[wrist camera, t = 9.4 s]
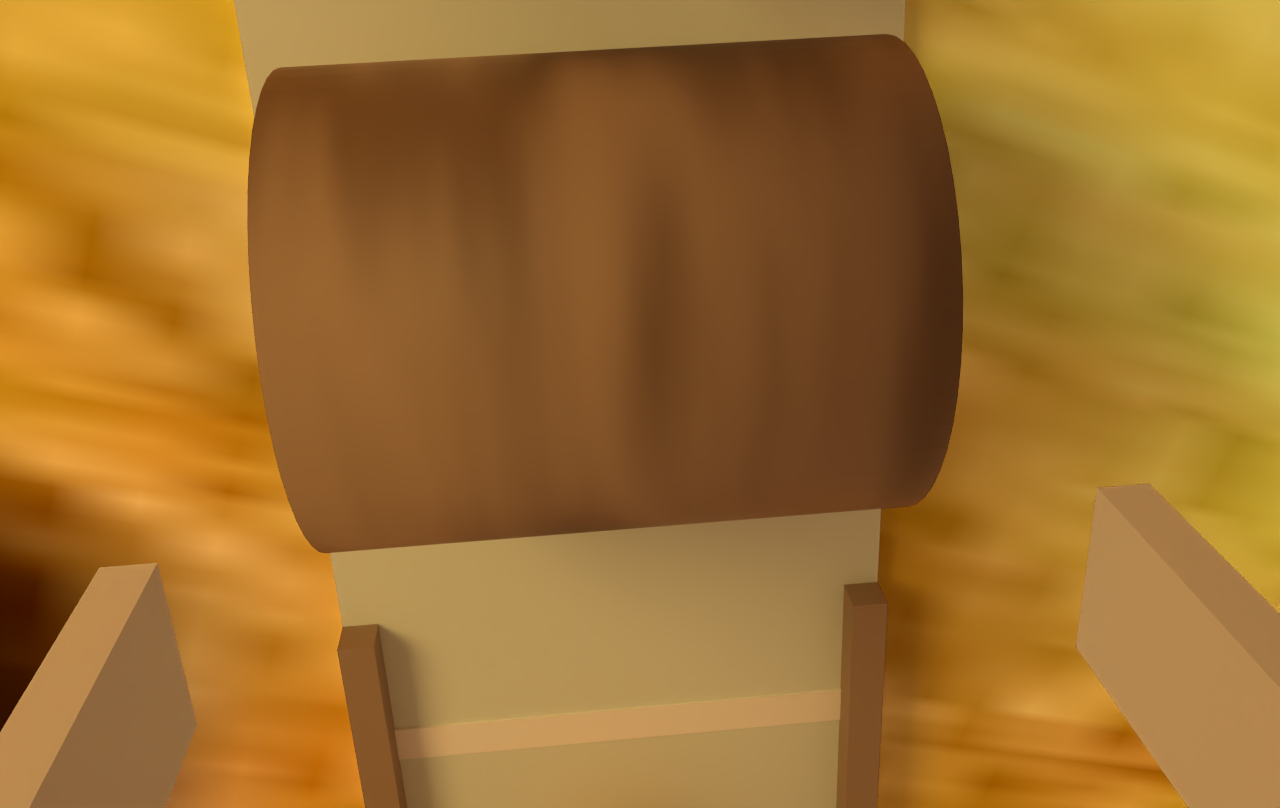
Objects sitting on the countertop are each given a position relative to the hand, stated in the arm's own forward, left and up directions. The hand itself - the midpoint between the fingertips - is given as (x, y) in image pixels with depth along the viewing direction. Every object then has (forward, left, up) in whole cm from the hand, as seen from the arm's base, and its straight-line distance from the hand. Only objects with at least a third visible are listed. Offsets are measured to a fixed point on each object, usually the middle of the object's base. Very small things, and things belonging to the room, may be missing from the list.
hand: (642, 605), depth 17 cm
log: (0, +2, -12) cm, 13 cm away
